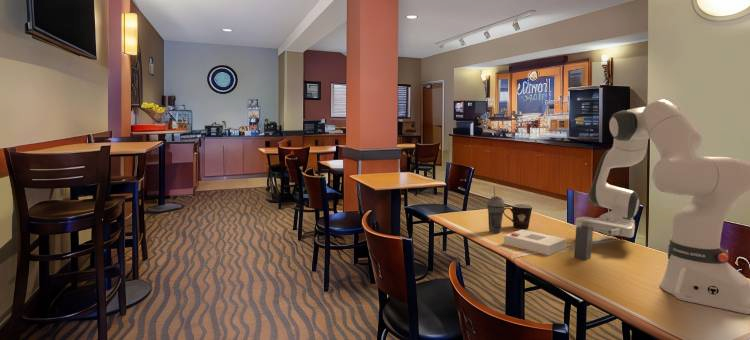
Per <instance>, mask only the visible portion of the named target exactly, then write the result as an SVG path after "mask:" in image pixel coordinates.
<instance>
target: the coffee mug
mask: <svg viewBox="0 0 750 340" xmlns="http://www.w3.org/2000/svg"><path fill="white" fill-rule="evenodd" d="M506 210H510V212H511V213H512V218H511V217H510V216H508V215H507V214H506V213H505V211H506ZM532 211H533V206H532V205H529V204H526V203H525V204H523V203H513V204H512V205H511V207H508V206H507V207H504V211H503V215H504V216H505V218H507V219H509V220H510V221H511V222H512V225H513V226H512V228H513V229H517V230H529V226H530V221H531V216H532Z"/></svg>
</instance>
